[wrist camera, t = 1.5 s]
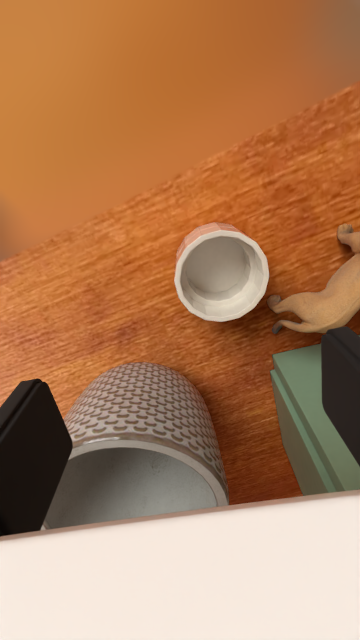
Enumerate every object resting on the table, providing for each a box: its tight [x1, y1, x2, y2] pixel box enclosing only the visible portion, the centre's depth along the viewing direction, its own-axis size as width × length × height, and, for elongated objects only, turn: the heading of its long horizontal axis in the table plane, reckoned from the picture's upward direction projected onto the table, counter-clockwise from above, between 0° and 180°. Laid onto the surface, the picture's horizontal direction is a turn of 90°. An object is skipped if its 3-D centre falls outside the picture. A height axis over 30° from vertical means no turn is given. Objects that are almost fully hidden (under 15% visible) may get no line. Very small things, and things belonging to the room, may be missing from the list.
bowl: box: [174, 222, 269, 322], centre depth 25 cm, size 7×7×5 cm
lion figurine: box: [267, 224, 360, 334], centre depth 23 cm, size 15×5×9 cm, turn 148°
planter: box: [40, 362, 229, 531], centre depth 27 cm, size 14×14×13 cm
